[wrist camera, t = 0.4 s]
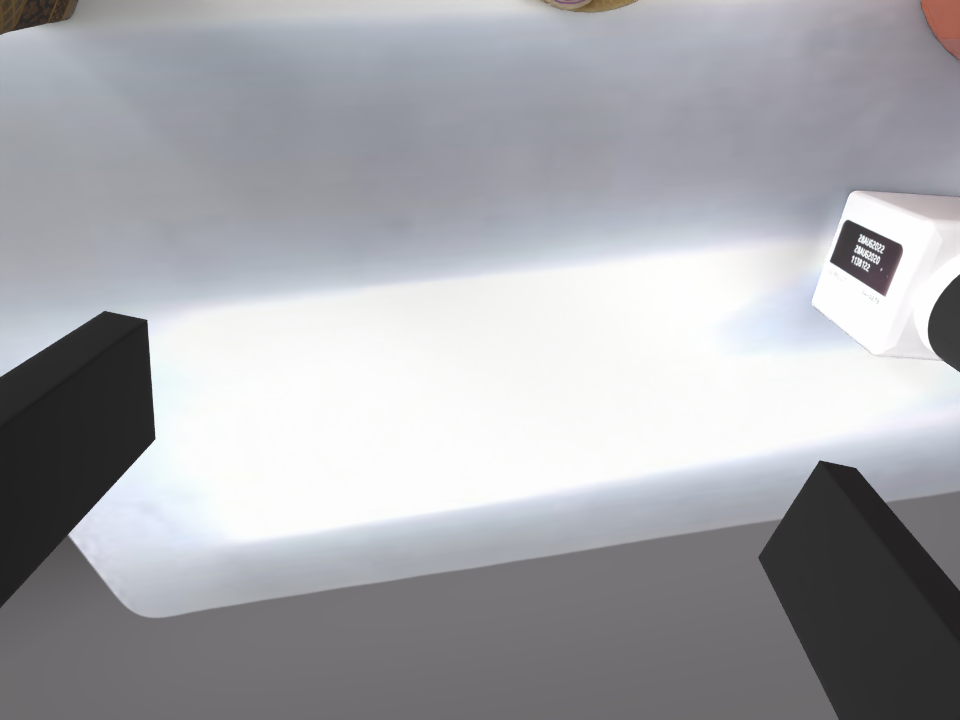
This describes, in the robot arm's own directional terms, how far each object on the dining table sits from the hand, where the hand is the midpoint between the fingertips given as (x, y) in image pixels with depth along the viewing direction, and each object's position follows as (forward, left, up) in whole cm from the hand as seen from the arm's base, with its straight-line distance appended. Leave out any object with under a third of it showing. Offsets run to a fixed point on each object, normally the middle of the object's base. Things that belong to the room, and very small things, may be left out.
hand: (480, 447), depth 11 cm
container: (0, +26, -28) cm, 38 cm away
